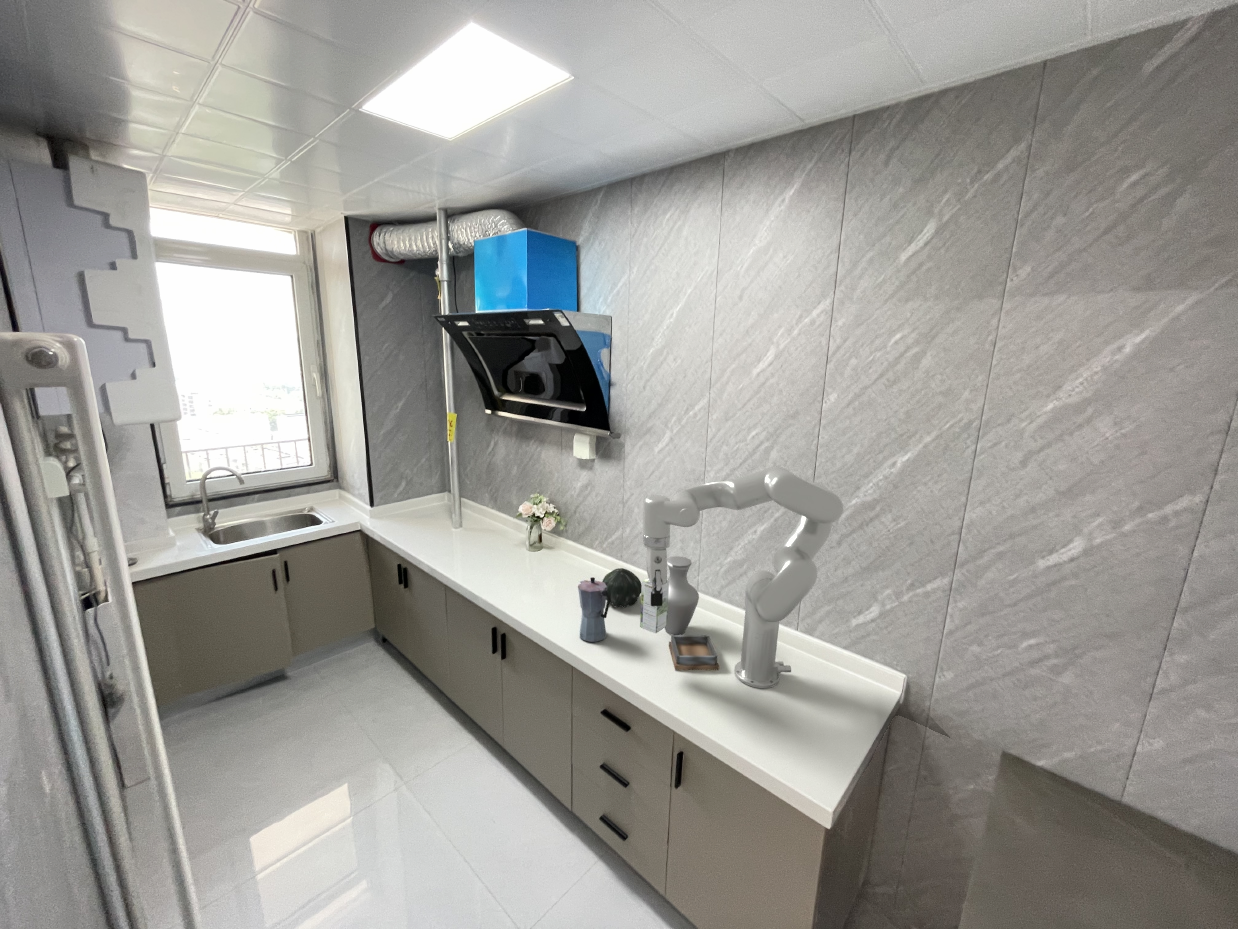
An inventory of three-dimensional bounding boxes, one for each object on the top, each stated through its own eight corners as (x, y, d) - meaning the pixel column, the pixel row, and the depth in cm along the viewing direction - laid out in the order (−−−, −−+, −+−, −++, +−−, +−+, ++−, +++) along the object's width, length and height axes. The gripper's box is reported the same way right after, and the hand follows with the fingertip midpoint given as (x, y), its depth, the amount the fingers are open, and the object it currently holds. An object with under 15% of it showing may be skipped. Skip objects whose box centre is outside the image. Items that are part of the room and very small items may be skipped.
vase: (648, 636, 168) (651, 565, 163) (660, 616, 182) (663, 550, 176) (691, 645, 164) (696, 572, 158) (700, 624, 177) (705, 556, 172)
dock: (709, 646, 164) (709, 634, 163) (718, 670, 151) (719, 658, 150) (668, 645, 163) (669, 634, 162) (675, 670, 150) (675, 658, 150)
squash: (626, 575, 202) (609, 555, 193) (654, 589, 192) (638, 568, 182) (605, 605, 197) (587, 586, 187) (633, 621, 187) (615, 601, 177)
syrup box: (651, 620, 152) (652, 574, 149) (667, 626, 148) (669, 579, 145) (639, 627, 147) (640, 580, 144) (656, 634, 144) (657, 586, 141)
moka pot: (589, 622, 176) (590, 567, 172) (621, 640, 165) (623, 582, 161) (567, 632, 169) (568, 575, 165) (599, 651, 159) (600, 591, 155)
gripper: (674, 551, 134) (672, 613, 138) (665, 529, 151) (663, 585, 155) (646, 551, 134) (644, 613, 137) (640, 529, 151) (638, 585, 154)
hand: (654, 598), depth 146 cm, fingers closed on syrup box, 7 cm apart
